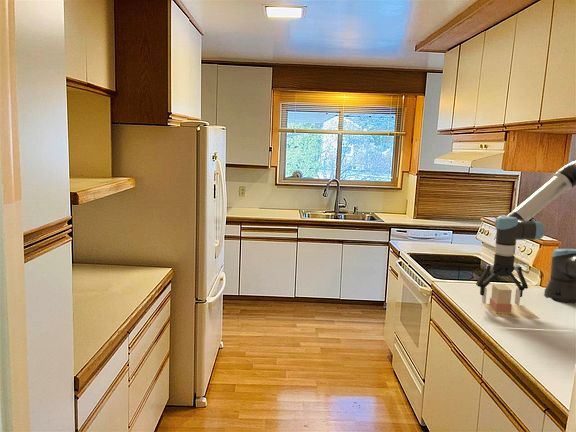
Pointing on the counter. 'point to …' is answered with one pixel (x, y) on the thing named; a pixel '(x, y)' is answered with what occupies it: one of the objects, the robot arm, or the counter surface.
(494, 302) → the block
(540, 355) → the counter surface
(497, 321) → the counter surface
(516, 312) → the board
